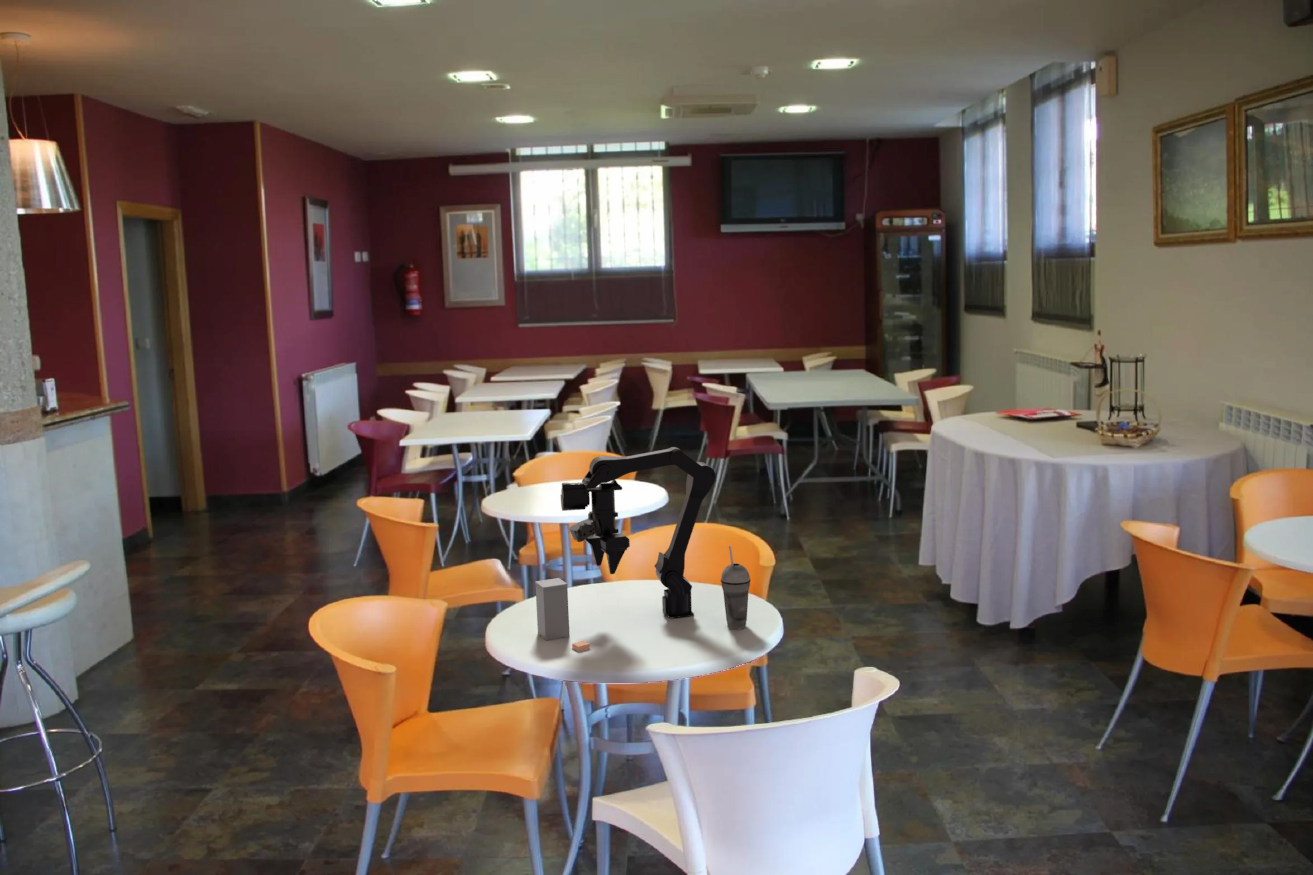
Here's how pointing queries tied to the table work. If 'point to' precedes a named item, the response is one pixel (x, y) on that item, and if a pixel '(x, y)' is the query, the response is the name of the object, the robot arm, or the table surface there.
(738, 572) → the beverage cup
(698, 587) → the table surface
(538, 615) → the smooth gray cuboid
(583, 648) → the terracotta block
